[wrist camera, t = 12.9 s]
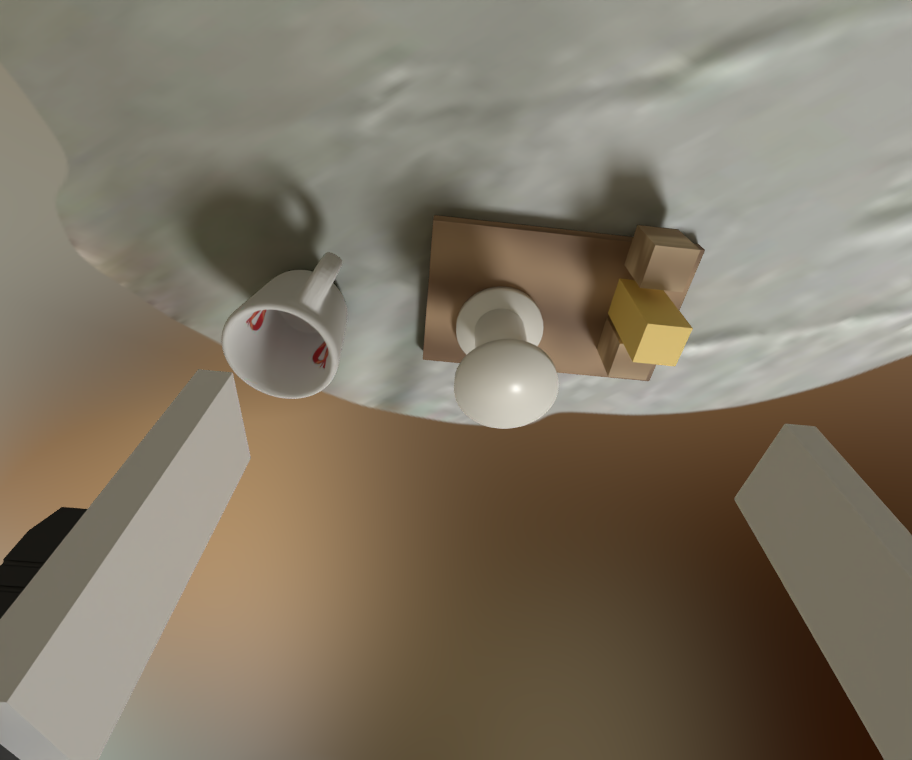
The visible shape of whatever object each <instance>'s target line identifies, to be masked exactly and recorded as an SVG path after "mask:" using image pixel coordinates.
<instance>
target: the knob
mask: <svg viewBox="0 0 912 760" xmlns="http://www.w3.org/2000/svg"><path fill="white" fill-rule="evenodd" d="M456 335H457V340H458V343H459V345H460V347H461V349H462V350H463V351H464V353H465V354H466V356H465V357H464V358H463V360H462V361H461V362H460V364H459V366H458V368H457V371H456V374H455V382H454V393H455V398H456V401H457V403H458V405H459V407H460V408H461V410H462V411H463V412H464V413H465V414H466V415H467V416H468V417H469V418H471V419H472V420H474V421H475V422H477V423H479V424H482V425H485V426H488V427H493V428H504V429H505V428H515V427H520V426H524V425H526V424H529V423H531V422H533V421H535V420H537V419H538V418H540V417H541V416H543V415H544V414H545V413H546V412H547V411H548V410H549V409H550V408H551V406H552V405H553V403H554V401H555V400H556V397H557V394H558V389H559V381H558V376H557V372H556V369H555V366H554V363H553V361H552V360H551V358H550V357H549V356H548V355H547V354H546V353H545V352H544V351H543V350H542V349H541V348H539V347H537V346H538V345H539V343H540V341H541V338H542V335H543V320H542V316H541V313H540V310H539V308H538V306H537V304H536V303H535V301H534V300H533V299H532V298H531V297H530V296H528V295H527V294H525V293H524V292H522V291H520V290H518V289H514V288H510V287H492V288H487V289H484V290H482V291H480V292H478V293H476V294H474V295H473V296H472V297H470V298H469V299H468V300H467V301H466V302H465V303H464V305H463V306H462V308H461V309H460V311H459V314H458V317H457V322H456Z"/></svg>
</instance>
